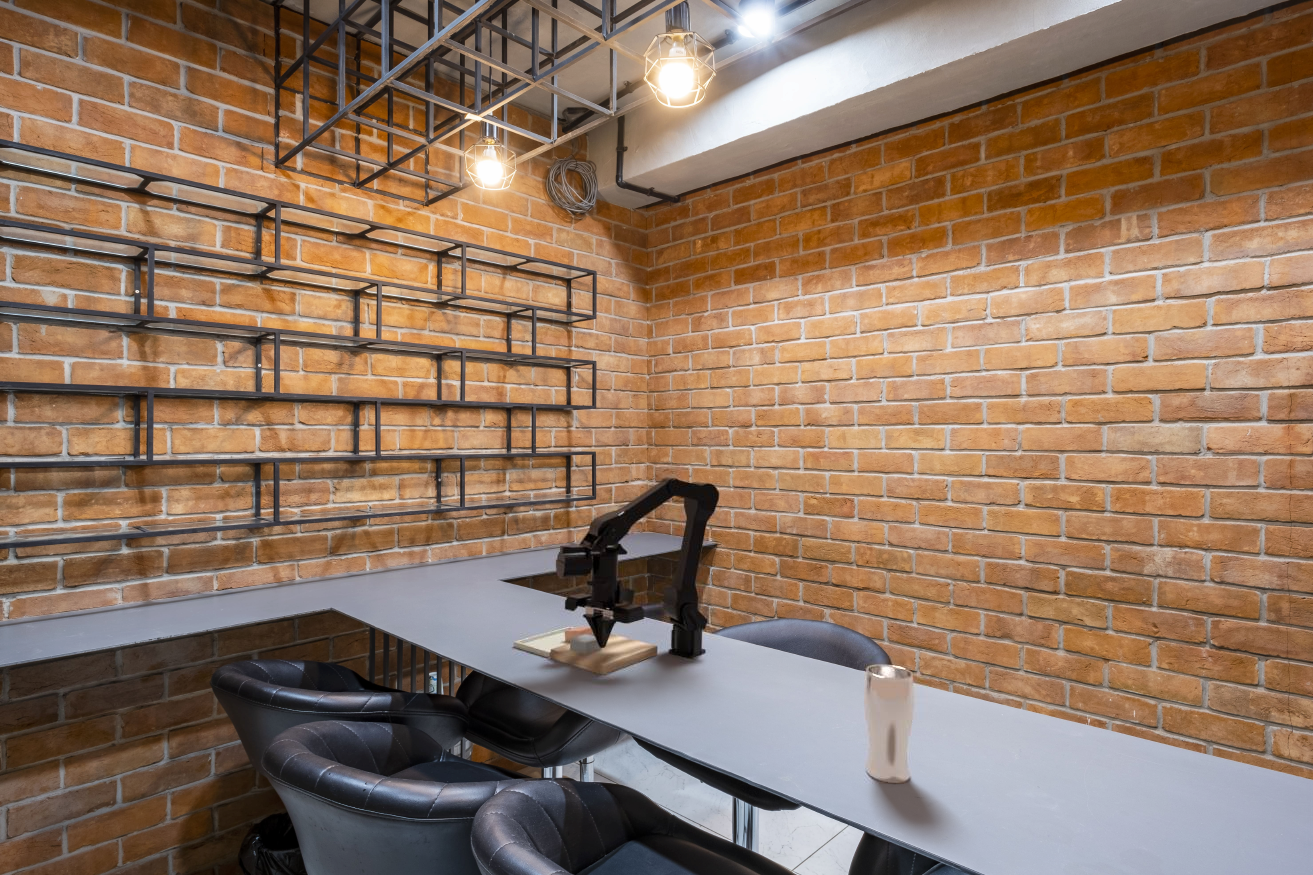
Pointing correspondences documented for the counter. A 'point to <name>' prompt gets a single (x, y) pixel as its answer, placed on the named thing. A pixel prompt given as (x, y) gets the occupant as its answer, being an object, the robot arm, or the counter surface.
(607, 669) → the birch board
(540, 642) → the tray
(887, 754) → the beer glass
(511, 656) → the counter surface
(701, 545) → the robot arm
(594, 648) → the grey box
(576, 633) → the terracotta block
